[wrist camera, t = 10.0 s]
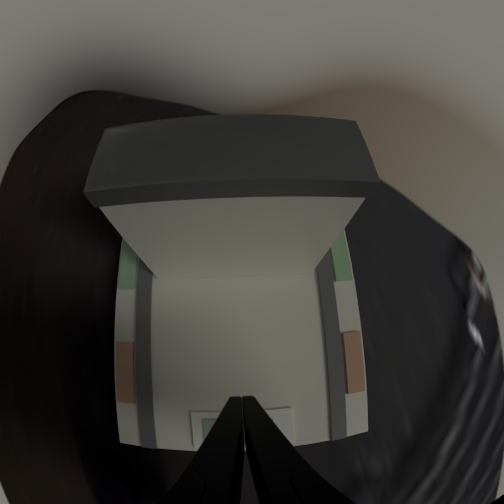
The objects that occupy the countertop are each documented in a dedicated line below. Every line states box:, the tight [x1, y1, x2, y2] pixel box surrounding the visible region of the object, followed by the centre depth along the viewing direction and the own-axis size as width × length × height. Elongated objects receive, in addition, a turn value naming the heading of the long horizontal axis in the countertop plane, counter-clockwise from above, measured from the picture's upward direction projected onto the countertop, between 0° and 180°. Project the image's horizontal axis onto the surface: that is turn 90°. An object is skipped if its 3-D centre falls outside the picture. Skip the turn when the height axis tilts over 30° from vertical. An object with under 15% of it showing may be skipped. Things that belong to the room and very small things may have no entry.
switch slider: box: [83, 114, 381, 278], centre depth 14 cm, size 3×10×10 cm, turn 94°
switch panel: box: [114, 229, 368, 451], centre depth 17 cm, size 17×16×2 cm
